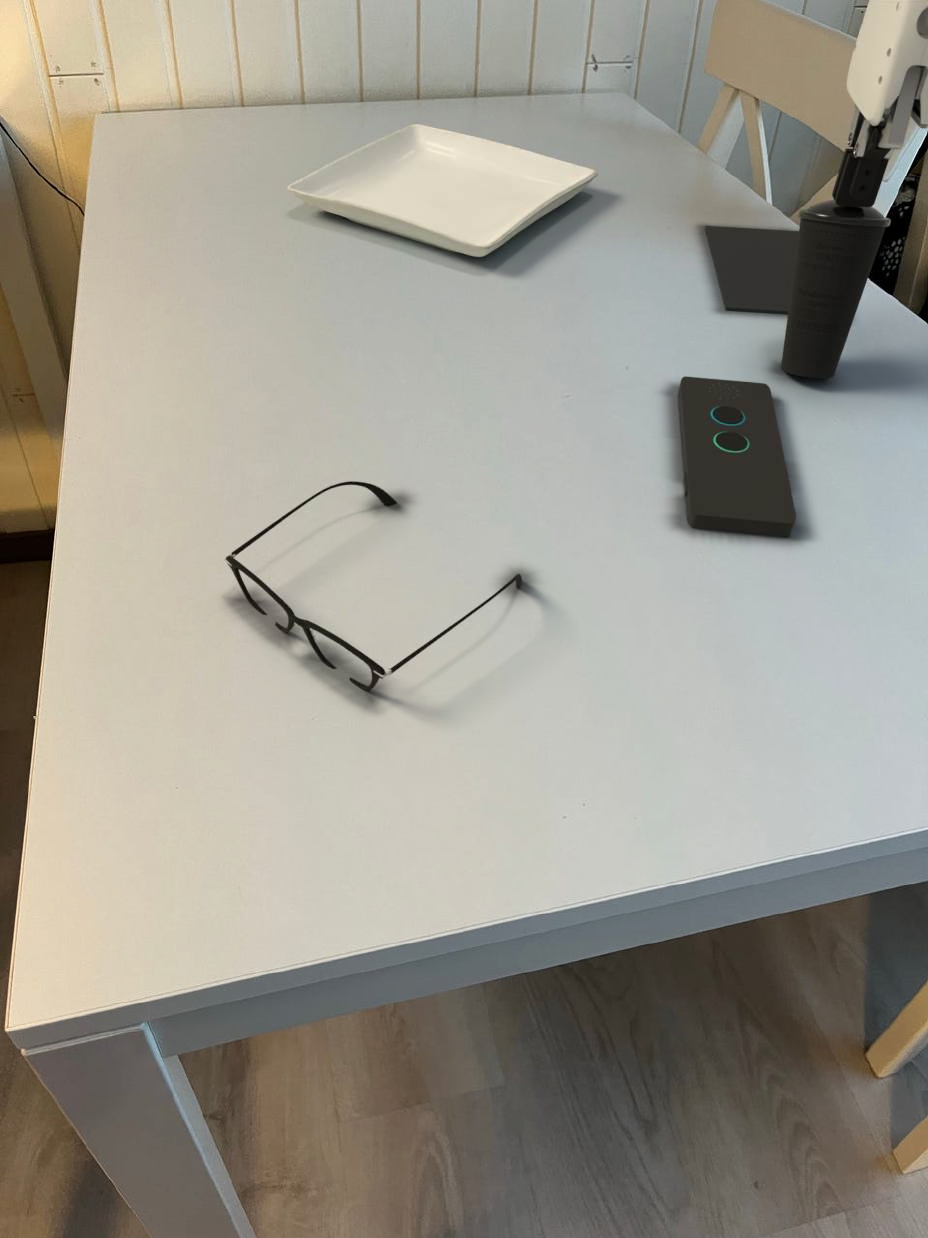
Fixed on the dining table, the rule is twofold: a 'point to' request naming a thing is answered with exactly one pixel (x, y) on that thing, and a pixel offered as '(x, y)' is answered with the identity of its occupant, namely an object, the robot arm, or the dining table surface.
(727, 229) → the mat
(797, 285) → the drinking cup
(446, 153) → the square plate
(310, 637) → the eyeglasses
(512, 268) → the dining table surface
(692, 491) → the smart home device
